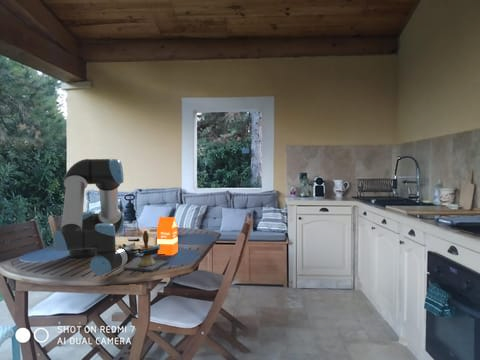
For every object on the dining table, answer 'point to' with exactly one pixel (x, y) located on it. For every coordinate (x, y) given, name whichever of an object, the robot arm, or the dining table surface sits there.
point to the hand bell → (147, 259)
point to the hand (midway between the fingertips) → (147, 245)
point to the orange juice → (167, 236)
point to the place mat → (145, 268)
